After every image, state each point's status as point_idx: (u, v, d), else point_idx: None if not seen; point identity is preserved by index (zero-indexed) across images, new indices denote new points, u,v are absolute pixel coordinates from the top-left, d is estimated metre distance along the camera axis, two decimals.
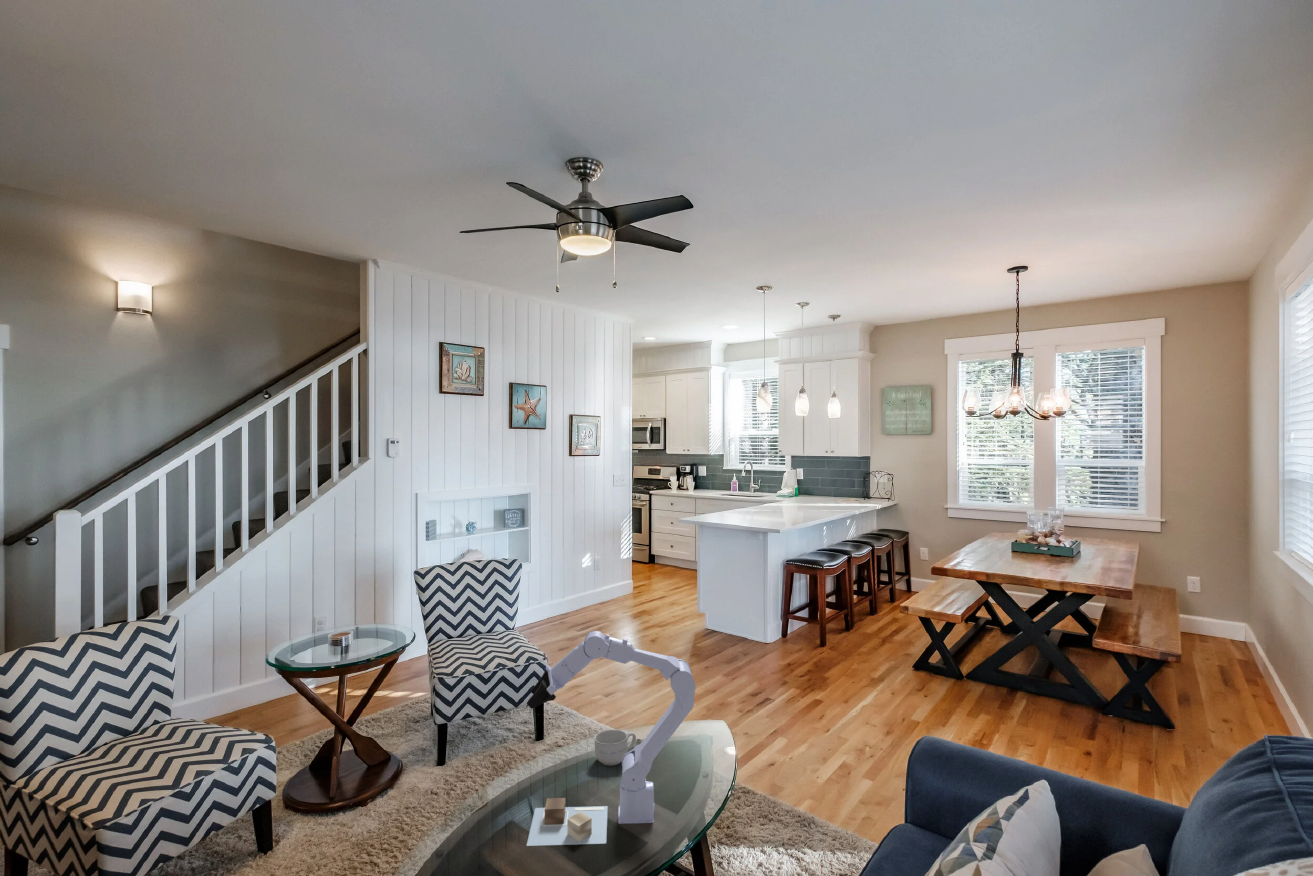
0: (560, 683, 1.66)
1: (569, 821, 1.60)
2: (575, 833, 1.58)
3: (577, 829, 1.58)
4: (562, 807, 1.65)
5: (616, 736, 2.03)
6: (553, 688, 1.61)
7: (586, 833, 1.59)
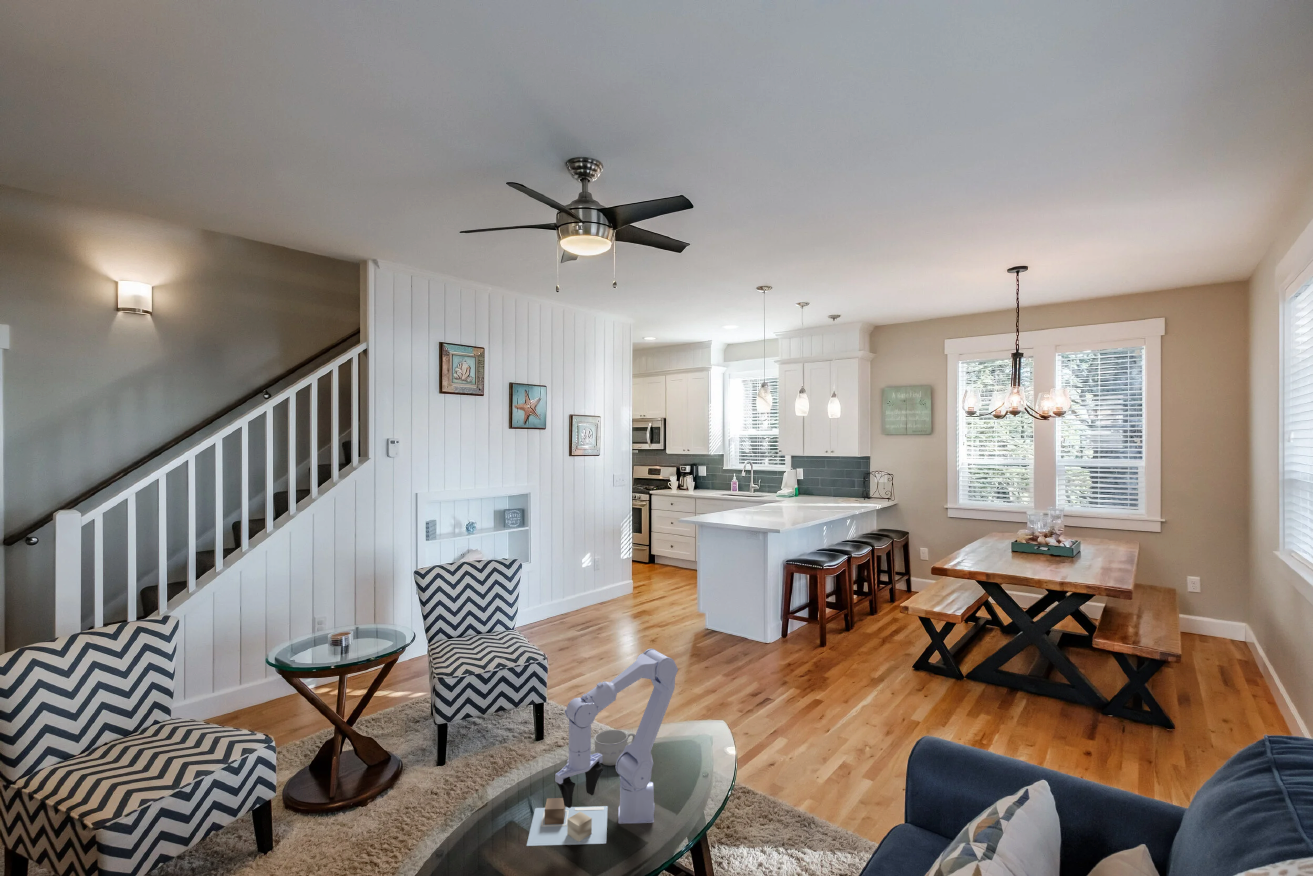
0: (575, 768, 1.58)
1: (569, 821, 1.60)
2: (575, 833, 1.58)
3: (577, 829, 1.58)
4: (562, 807, 1.65)
5: (616, 736, 2.03)
6: (557, 776, 1.55)
7: (586, 833, 1.59)
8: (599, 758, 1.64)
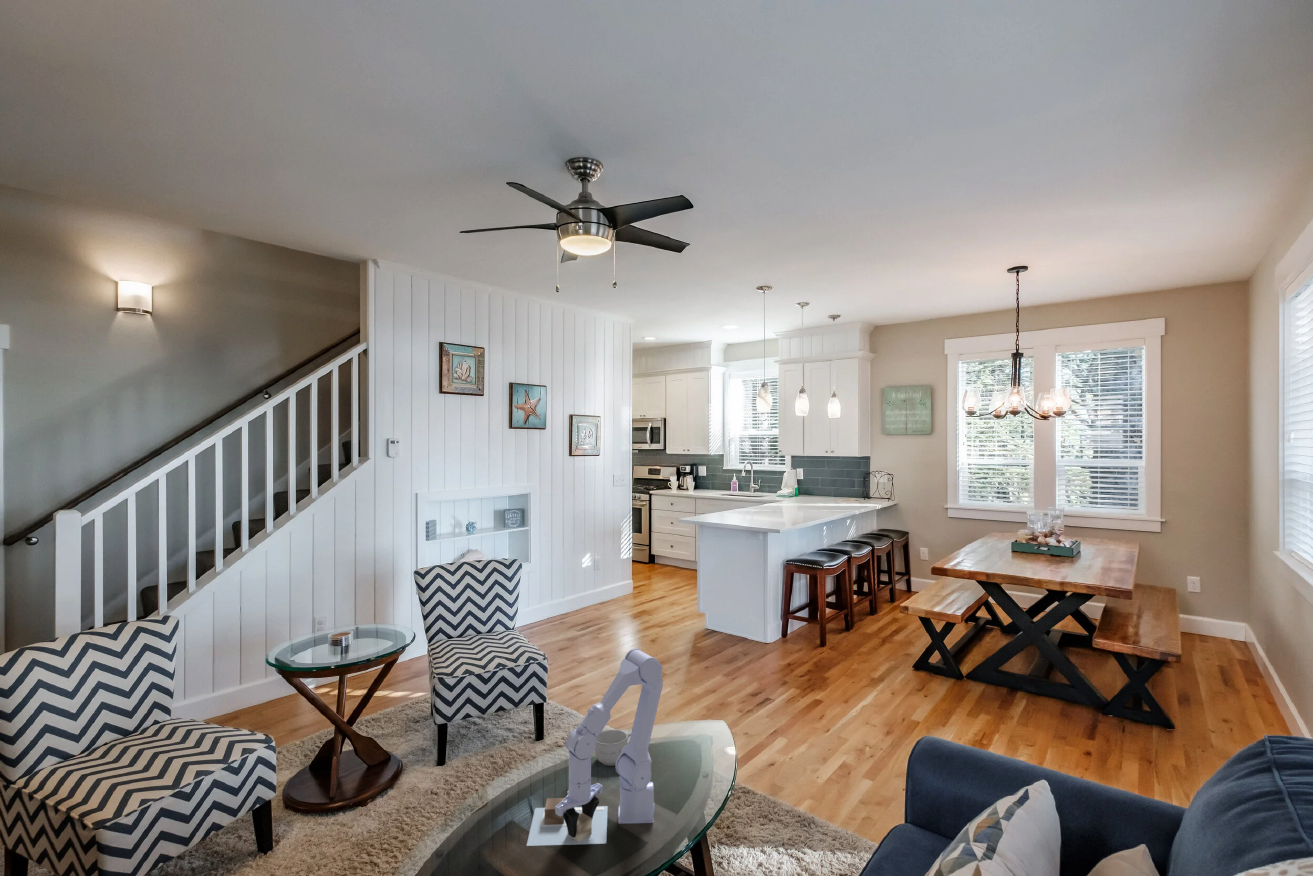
0: (575, 800, 1.58)
1: None
2: None
3: (577, 829, 1.58)
4: None
5: (616, 736, 2.03)
6: (557, 809, 1.55)
7: (586, 833, 1.59)
8: (599, 789, 1.64)
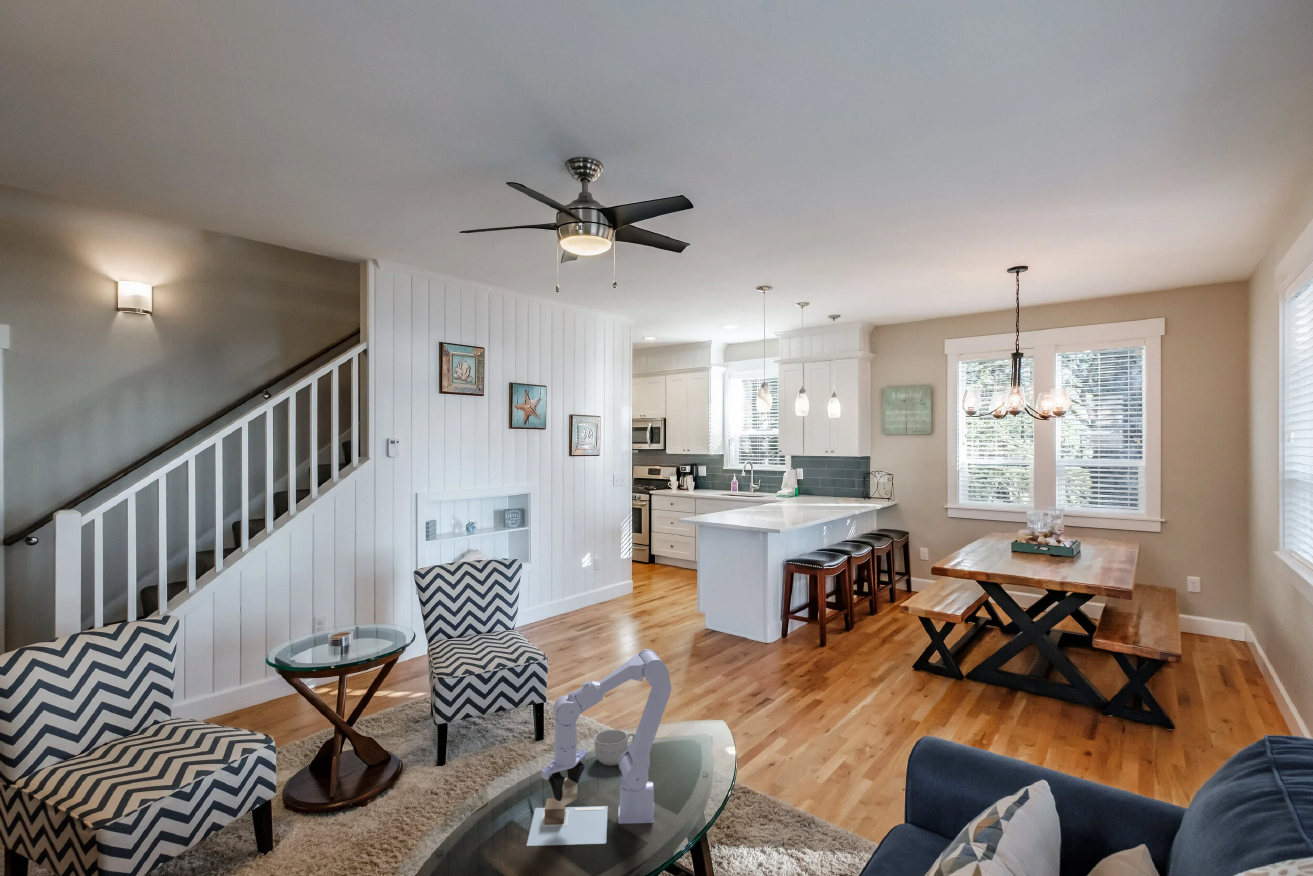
0: (560, 764, 1.61)
1: None
2: None
3: (563, 794, 1.61)
4: (562, 807, 1.65)
5: (616, 736, 2.03)
6: (543, 772, 1.59)
7: (572, 798, 1.63)
8: (585, 755, 1.68)
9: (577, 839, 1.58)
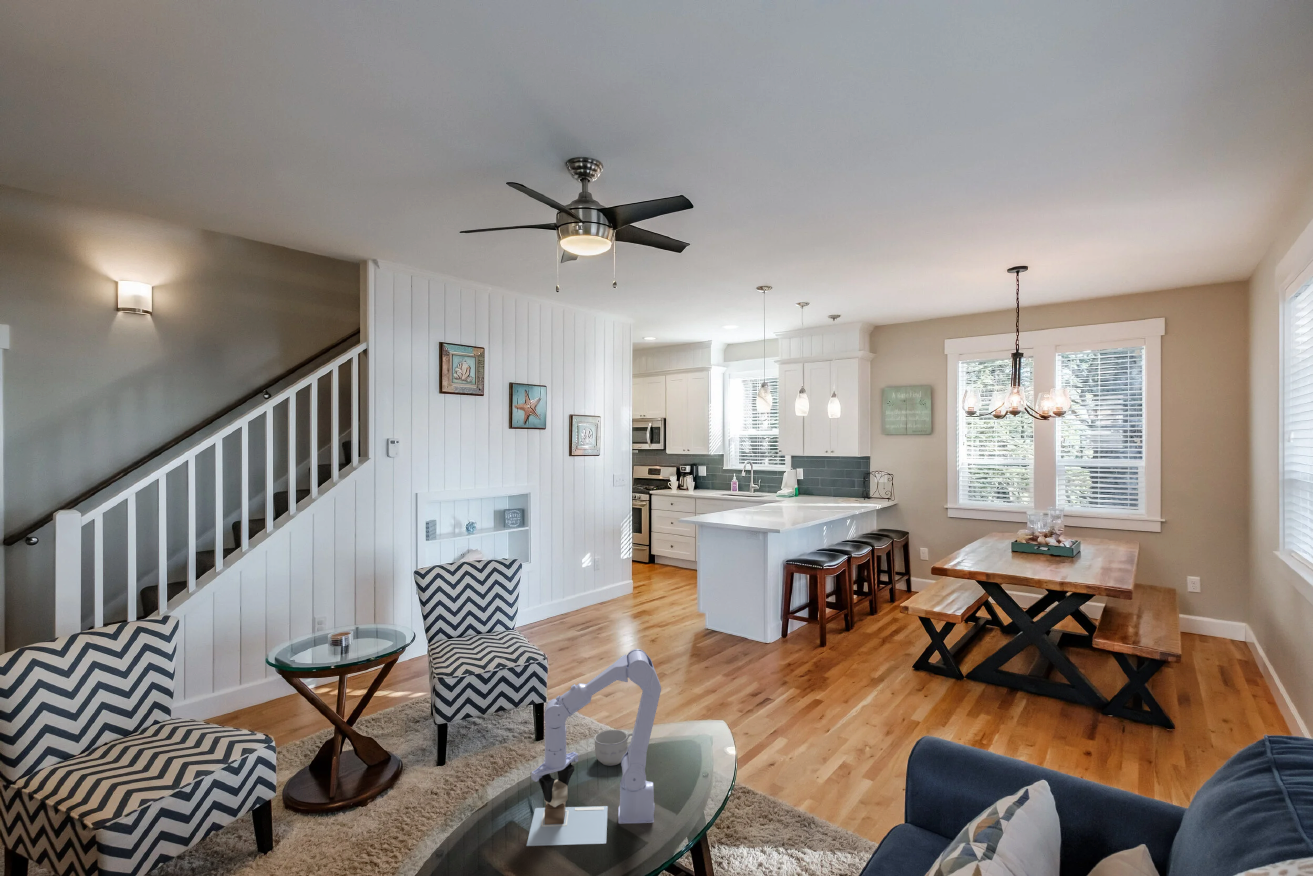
0: (550, 766, 1.64)
1: None
2: None
3: (553, 795, 1.64)
4: (562, 807, 1.65)
5: (616, 736, 2.03)
6: (533, 774, 1.62)
7: (562, 799, 1.66)
8: (575, 757, 1.71)
9: (577, 839, 1.58)
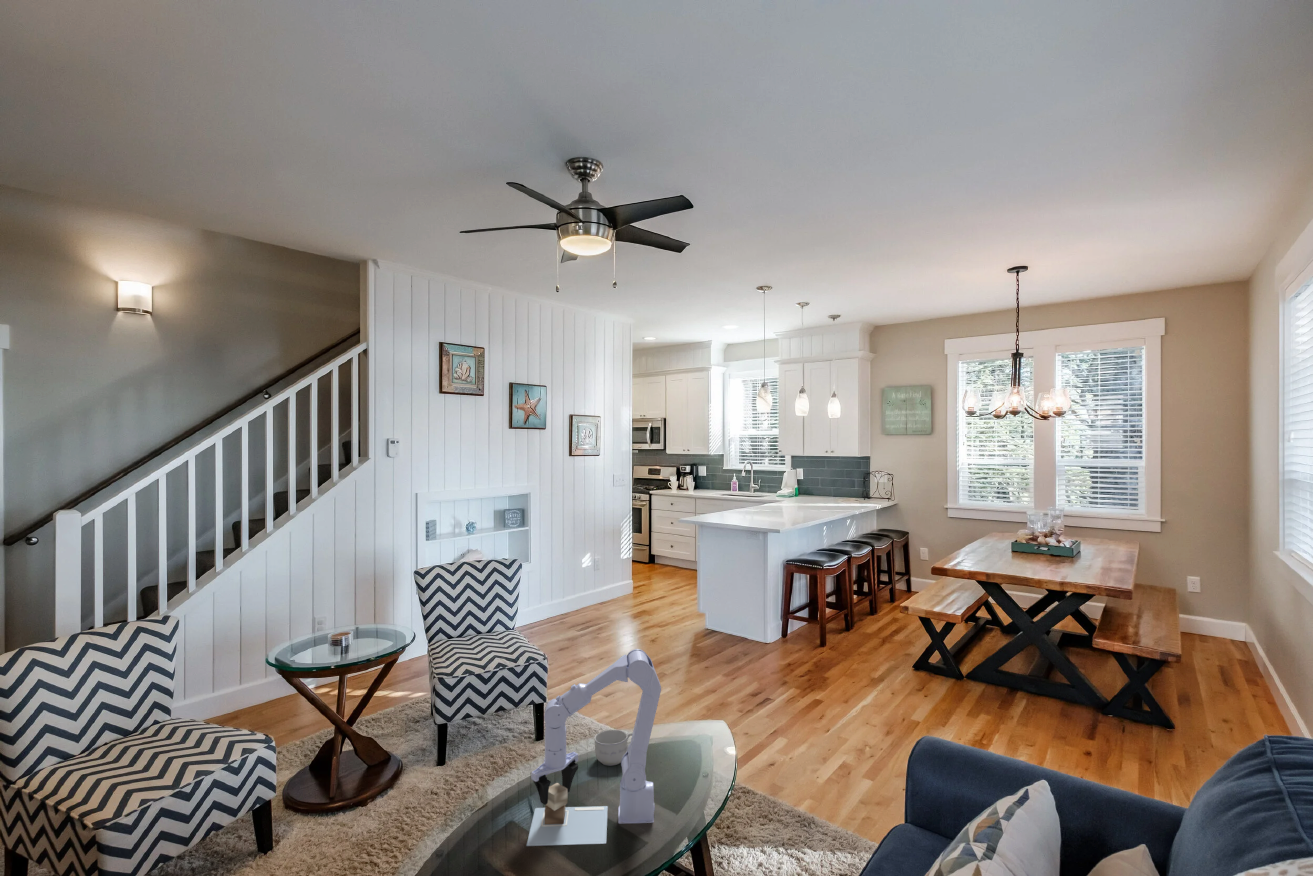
0: (550, 766, 1.64)
1: None
2: (551, 802, 1.65)
3: (553, 799, 1.64)
4: (562, 807, 1.65)
5: (616, 736, 2.03)
6: (533, 774, 1.62)
7: (562, 803, 1.66)
8: (575, 757, 1.71)
9: (577, 839, 1.58)
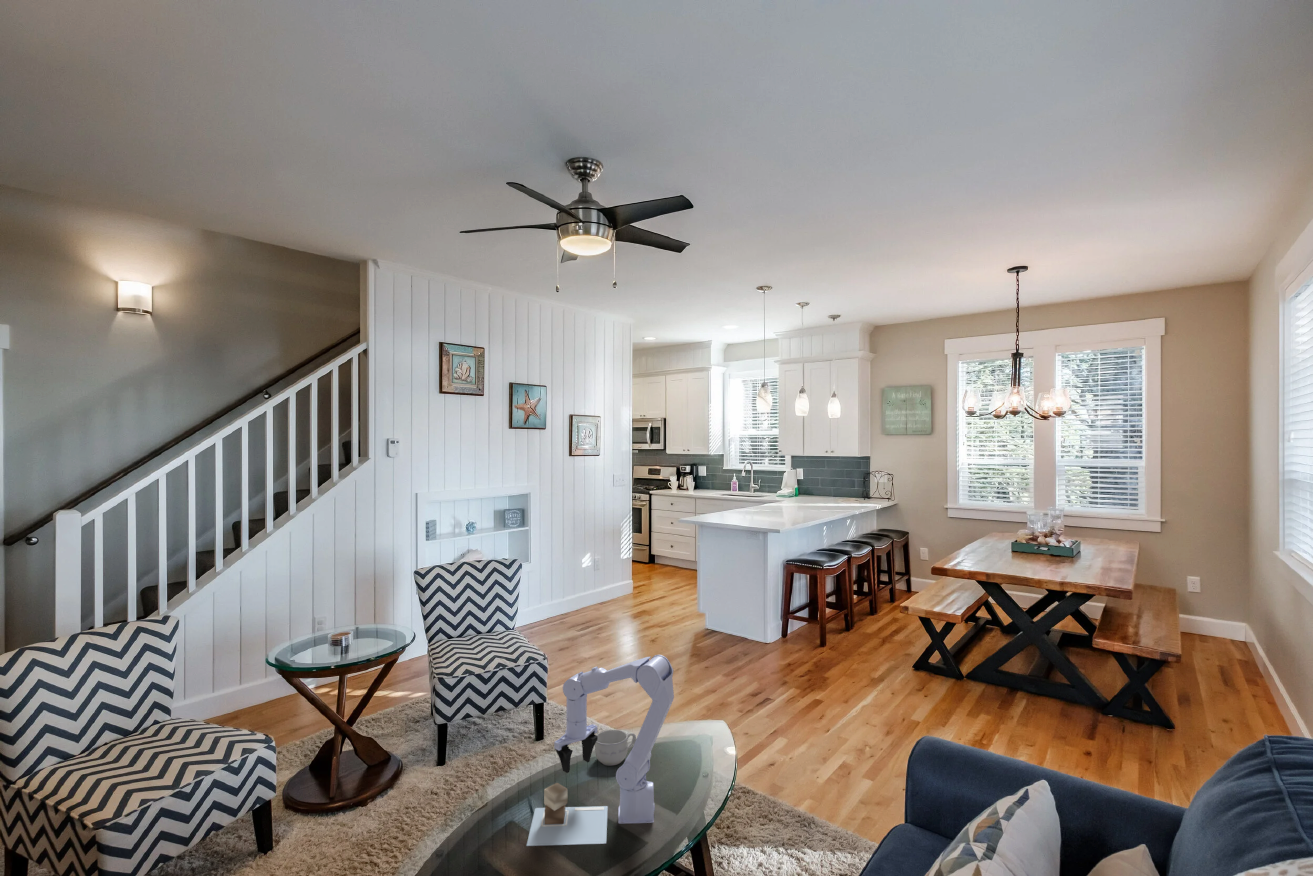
0: (572, 736, 1.74)
1: (546, 791, 1.66)
2: (551, 802, 1.65)
3: (553, 799, 1.64)
4: (562, 807, 1.65)
5: (616, 736, 2.03)
6: (556, 744, 1.71)
7: (562, 803, 1.66)
8: (594, 728, 1.80)
9: (577, 839, 1.58)
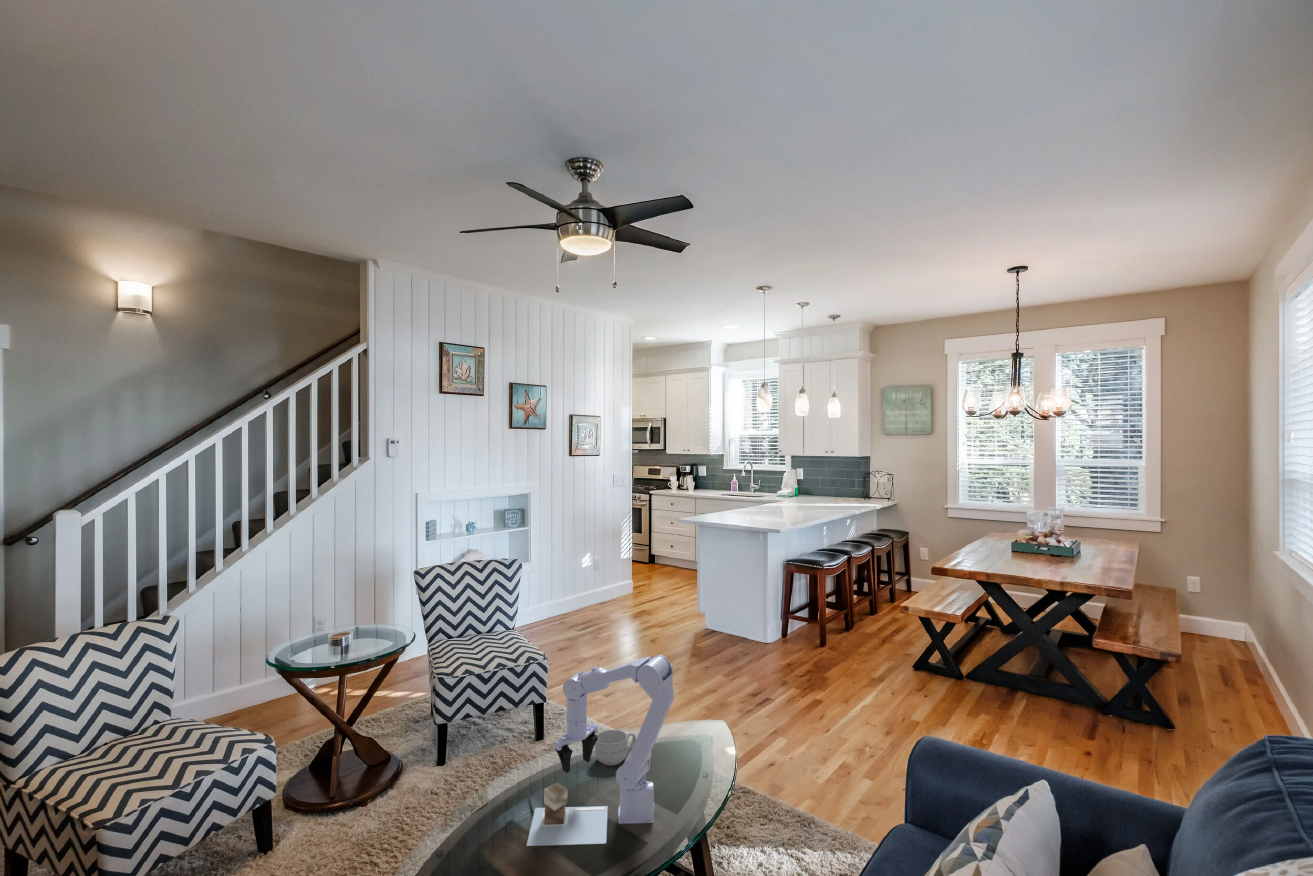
0: (572, 736, 1.74)
1: (546, 791, 1.66)
2: (551, 802, 1.65)
3: (553, 799, 1.64)
4: (562, 807, 1.65)
5: (616, 736, 2.03)
6: (556, 743, 1.71)
7: (562, 803, 1.66)
8: (594, 728, 1.80)
9: (577, 839, 1.58)
